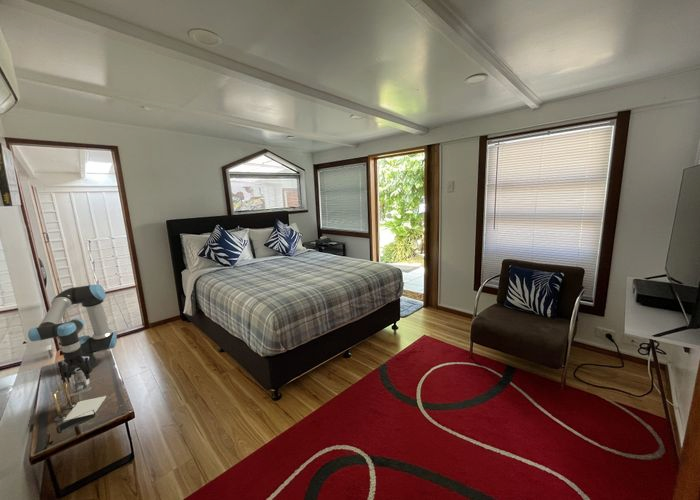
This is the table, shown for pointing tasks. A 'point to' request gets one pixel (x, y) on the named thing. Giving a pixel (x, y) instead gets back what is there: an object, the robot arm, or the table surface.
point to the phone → (74, 422)
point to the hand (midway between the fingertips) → (80, 385)
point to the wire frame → (70, 405)
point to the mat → (85, 408)
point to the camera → (80, 383)
